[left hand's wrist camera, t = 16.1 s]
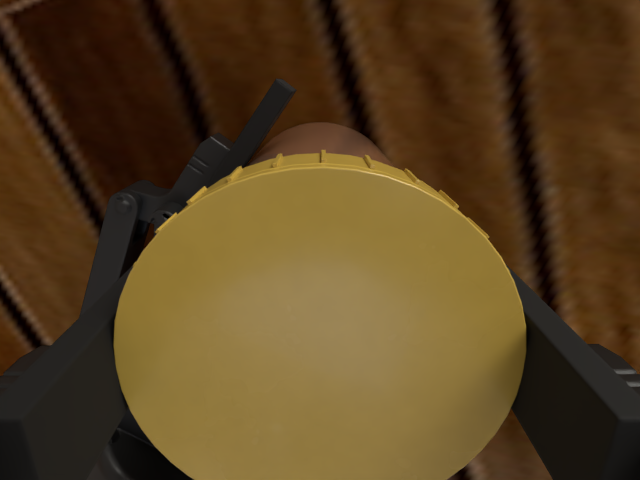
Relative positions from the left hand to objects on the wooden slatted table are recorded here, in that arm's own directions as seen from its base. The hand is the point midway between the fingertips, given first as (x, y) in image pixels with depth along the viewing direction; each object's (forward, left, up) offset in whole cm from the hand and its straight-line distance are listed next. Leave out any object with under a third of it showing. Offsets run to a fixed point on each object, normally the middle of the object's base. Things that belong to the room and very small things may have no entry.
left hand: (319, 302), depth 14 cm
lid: (0, 0, +3) cm, 3 cm away
